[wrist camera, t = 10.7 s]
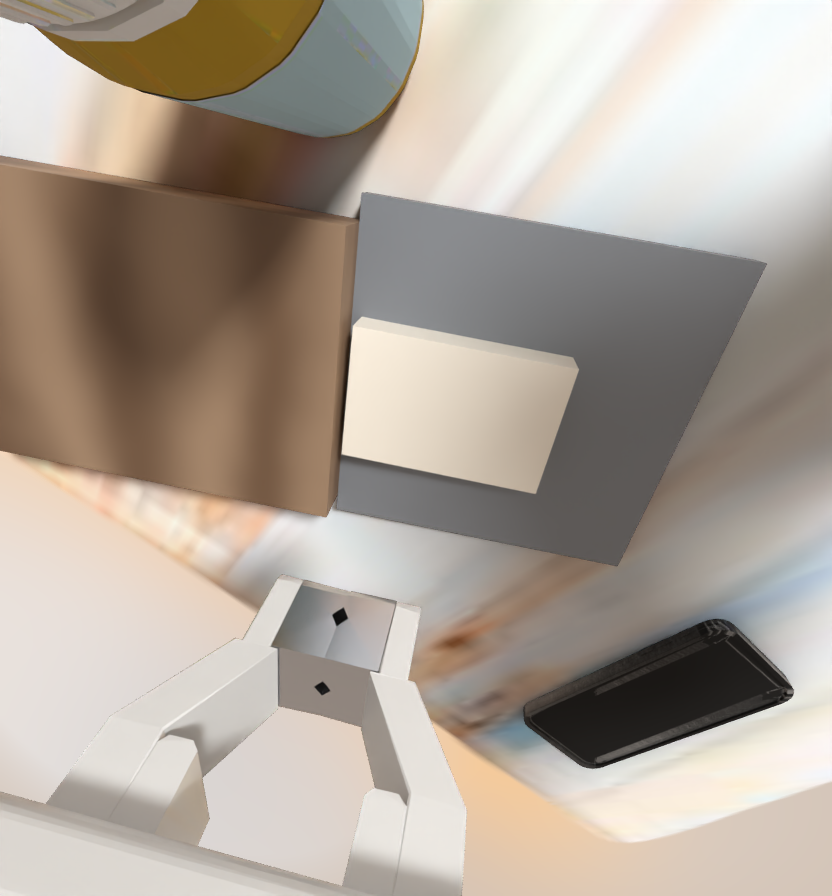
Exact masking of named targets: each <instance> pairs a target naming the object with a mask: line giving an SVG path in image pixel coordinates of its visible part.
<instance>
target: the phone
mask: <svg viewBox="0 0 832 896" xmlns="http://www.w3.org/2000/svg"><path fill="white" fill-rule="evenodd" d="M793 694H794V689H793V688H792V686H791V684H790V683H789V681H788V679H787V678H786V676H785V675H784V674H783V673H782V672H781V671H780V670H779V669H778V668H777V667H776V666H775V665H774V664H773V663H772V662H771V661H770V660H769V659H768V658H767V657H766V656H765V655H764V654H763V653H762V652H761V651H760V650H759V649H758V648H757V647H756V646H755V645H754V644H753V643H752V642H751V641H750V640H749V639H748V638H747V637H746V636H745V635H744V634H743V633H742V632H741V631H740V630H739V629H738V628H737V627H735V626H734V625H733V624H732V623H730V622H729V621H726V620H721V619H713V620H707V621H704V622H702V623H700V624H697V625H695V626H693V627H691V628H689V629H687V630H684V631H682V632H680V633H678V634H676V635H674V636H671V637H669V638H667V639H665V640H663V641H661V642H658V643H656V644H654V645H652V646H650V647H648V648H645V649H643V650H641V651H639V652H637V653H635V654H632V655H630V656H628V657H626V658H624V659H622V660H619V661H617V662H615V663H613V664H611V665H609V666H606V667H604V668H602V669H600V670H598V671H596V672H593V673H591V674H589V675H587V676H585V677H583V678H580V679H578V680H576V681H574V682H572V683H570V684H567V685H565V686H563V687H561V688H559V689H557V690H555V691H552V692H550V693H548V694H546V695H544V696H542V697H539V698H537V699H535V700H533V701H531V702H529V703H527V704H526V705H525V706H524V710H523V711H524V722H525V724H526V725H527V726H528V727H529V728H530V729H532V730H533V731H534V732H536V733H537V734H538V735H540V736H541V737H542V738H544V739H545V740H547V741H548V742H549V743H551V744H552V745H553V746H555V747H556V748H557V749H559V750H560V751H561V752H563V753H564V754H565V755H567V756H568V757H569V758H571V759H572V760H573V761H575V762H576V763H577V764H579V765H581V766H582V767H586V768H592V769H594V768H601V767H604V766H607V765H610V764H613V763H616V762H618V761H621V760H624V759H627V758H630V757H633V756H635V755H638V754H641V753H644V752H647V751H650V750H652V749H655V748H658V747H661V746H664V745H666V744H669V743H672V742H675V741H678V740H681V739H683V738H686V737H689V736H692V735H695V734H698V733H700V732H703V731H706V730H709V729H712V728H714V727H717V726H720V725H723V724H726V723H729V722H731V721H734V720H737V719H740V718H743V717H746V716H748V715H751V714H754V713H757V712H760V711H762V710H765V709H768V708H771V707H774V706H777V705H779V704H782V703H784V702H786V701H788V700H789V699H791V698H792V696H793Z"/></svg>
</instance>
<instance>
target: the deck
mask: <svg viewBox="0 0 832 896" xmlns="http://www.w3.org/2000/svg"><path fill="white" fill-rule="evenodd" d="M359 221H360V219H355V218H350V217H344V216H338V215H333V214H327V213H321V212H316V211H310V210H305V209H299V208H293V207H288V206H282V205H276V204H271V203H265V202H259V201H254V200H248V199H242V198H237V197H231V196H226V195H220V194H214V193H209V192H203V191H197V190H192V189H186V188H180V187H175V186H169V185H163V184H158V183H152V182H147V181H141V180H135V179H130V178H124V177H118V176H113V175H107V174H101V173H96V172H90V171H84V170H79V169H73V168H67V167H62V166H56V165H51V164H45V163H39V162H34V161H28V160H22V159H17V158H11V157H5V156H0V451H5V452H9V453H14V454H19V455H24V456H29V457H34V458H39V459H44V460H49V461H53V462H58V463H63V464H68V465H73V466H78V467H83V468H88V469H93V470H97V471H102V472H107V473H112V474H117V475H122V476H127V477H132V478H137V479H141V480H146V481H151V482H156V483H161V484H166V485H171V486H176V487H181V488H185V489H190V490H195V491H200V492H205V493H210V494H215V495H220V496H225V497H229V498H234V499H239V500H244V501H249V502H254V503H259V504H264V505H268V506H273V507H278V508H283V509H288V510H293V511H298V512H303V513H308V514H312V515H317V516H322V517H327V515H328V513H329V511H330V509H331V507H332V505H333V503H334V501H335V499H336V497H337V495H338V485H339V472H340V460H341V447H342V435H343V422H344V409H345V397H346V384H347V372H348V359H349V347H350V334H351V322H352V309H353V296H354V284H355V271H356V259H357V246H358V234H359Z"/></svg>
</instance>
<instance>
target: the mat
mask: <svg viewBox="0 0 832 896" xmlns="http://www.w3.org/2000/svg"><path fill="white" fill-rule="evenodd" d="M766 265H767V263H763V262H760V261H756V260H752V259H746V258H741V257H735V256H729V255H723V254H718V253H712V252H706V251H701V250H695V249H689V248H683V247H678V246H672V245H666V244H660V243H655V242H649V241H643V240H638V239H632V238H626V237H620V236H615V235H609V234H603V233H597V232H592V231H586V230H580V229H575V228H569V227H563V226H557V225H552V224H546V223H540V222H534V221H529V220H523V219H517V218H512V217H506V216H500V215H494V214H489V213H483V212H477V211H471V210H466V209H460V208H454V207H449V206H443V205H437V204H431V203H426V202H420V201H414V200H408V199H403V198H397V197H391V196H386V195H380V194H374V193H368V192H366V193H362V196H361V208H360V221H359V234H358V246H357V259H356V271H355V284H354V296H353V309H352V322H351V334H350V347H349V359H348V372H347V384H346V397H345V409H346V398H347V387H348V375H349V364H350V353H351V341H352V330H353V325H354V324H355V323H356V322H357V321H358V320H359V319H360V318H361V317H366V318H372V319H377V320H382V321H387V322H392V323H398V324H403V325H408V326H413V327H418V328H423V329H429V330H434V331H439V332H444V333H449V334H454V335H460V336H465V337H470V338H475V339H480V340H486V341H491V342H496V343H501V344H506V345H511V346H517V347H522V348H527V349H532V350H537V351H542V352H548V353H553V354H558V355H563V356H568V357H573V358H574V360H575V362H576V365H577V367H578V369H579V371H578V374H577V377H576V380H575V383H574V386H573V388H572V391H571V394H570V397H569V400H568V403H567V406H566V409H565V411H564V414H563V417H562V420H561V423H560V426H559V429H558V431H557V434H556V437H555V440H554V443H553V446H552V449H551V452H550V454H549V457H548V460H547V463H546V466H545V469H544V472H543V474H542V477H541V480H540V483H539V486H538V489H537V492H536V494H533V493H528V492H523V491H518V490H513V489H509V488H504V487H499V486H494V485H489V484H484V483H479V482H474V481H469V480H465V479H460V478H455V477H450V476H445V475H440V474H435V473H430V472H426V471H421V470H416V469H411V468H406V467H401V466H396V465H391V464H387V463H382V462H377V461H372V460H367V459H362V458H357V457H352V456H347V455H343V454H342V447H341V460H340V472H339V485H338V497H337V509H339V510H344V511H348V512H353V513H358V514H363V515H368V516H373V517H378V518H383V519H388V520H393V521H398V522H402V523H407V524H412V525H417V526H422V527H427V528H432V529H437V530H442V531H447V532H452V533H456V534H461V535H466V536H471V537H476V538H481V539H486V540H491V541H496V542H501V543H506V544H510V545H515V546H520V547H525V548H530V549H535V550H540V551H545V552H550V553H555V554H560V555H564V556H569V557H574V558H579V559H584V560H589V561H594V562H599V563H604V564H609V565H614V566H618V564H619V562H620V560H621V558H622V556H623V554H624V552H625V550H626V548H627V546H628V544H629V542H630V540H631V538H632V536H633V534H634V532H635V530H636V528H637V526H638V524H639V522H640V520H641V518H642V516H643V514H644V512H645V510H646V508H647V506H648V504H649V502H650V500H651V498H652V496H653V493H654V491H655V489H656V487H657V485H658V483H659V481H660V479H661V477H662V475H663V473H664V471H665V469H666V467H667V465H668V463H669V461H670V459H671V457H672V455H673V453H674V451H675V449H676V447H677V445H678V443H679V441H680V439H681V437H682V435H683V433H684V431H685V429H686V427H687V425H688V423H689V421H690V419H691V417H692V415H693V413H694V411H695V408H696V406H697V404H698V402H699V400H700V398H701V396H702V394H703V392H704V390H705V388H706V386H707V384H708V382H709V380H710V378H711V376H712V374H713V372H714V370H715V368H716V366H717V364H718V362H719V360H720V358H721V356H722V354H723V352H724V350H725V348H726V346H727V344H728V342H729V340H730V338H731V336H732V334H733V332H734V330H735V328H736V326H737V323H738V321H739V319H740V317H741V315H742V313H743V311H744V309H745V307H746V305H747V303H748V301H749V299H750V297H751V295H752V293H753V291H754V289H755V287H756V285H757V283H758V281H759V279H760V277H761V275H762V273H763V271H764V269H765V267H766ZM345 409H344V421H345ZM343 432H344V422H343ZM342 443H343V435H342Z"/></svg>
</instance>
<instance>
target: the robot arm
mask: <svg viewBox="0 0 832 896" xmlns="http://www.w3.org/2000/svg"><path fill="white" fill-rule="evenodd" d="M420 614H421V607H418V606H414V605H409V604H405V603H401V602H397V601H394V600H389V599H385V598H380V597H376V596H371V595H367V594H362V593H358V592H353V591H351V592H349V591H346V590H342V589H338V588H334V587H330V586H327V585H323V584H319V583H315V582H311V581H308V580H303V579H299V578H295V577H291V576H287V575H283V574H282V575H281V576H280V577H279V578H278V579H277V580H276V581H275V583H274V585H273V586H272V588H271V590H270V592H269V593H268V595H267V597H266V599H265V600H264V602H263V604H262V606H261V608H260V609H259V611H258V613H257V615H256V616H255V618H254V620H253V622H252V623H251V625H250V627H249V629H248V630H247V632H246V634H245V636H244V637H243V639H237V638H235V639H233V640H231V641H230V642H228V643H226V644H225V645H223V646H222V647H220V648H218V649H217V650H215V651H214V652H212V653H210V654H209V655H207V656H206V657H204V658H202V659H201V660H199V661H198V662H196V663H194V664H193V665H191V666H190V667H188V668H186V669H185V670H183V671H181V672H180V673H178V674H177V675H175V676H173V677H172V678H170V679H169V680H167V681H165V682H164V683H162V684H161V685H159V686H157V687H156V688H154V689H153V690H151V691H150V692H148V693H146V694H145V695H143V696H142V697H140V698H138V699H136V700H135V701H133V702H132V703H130V704H128V705H127V706H125V707H124V708H122V709H121V710H119V711H117V712H116V713H114V714H112V715H111V716H110V717H109V718H108V720H107V721H106V723H105V724H104V725H103V727H102V728H101V729H100V731H99V732H98V733H97V735H96V736H95V737H94V739H93V740H92V741H91V743H90V744H89V746H88V747H87V748H86V750H85V751H84V753H83V754H82V755H81V757H80V758H79V759H78V760H77V762H76V763H75V765H74V766H73V767H72V769H71V770H70V772H69V773H68V774H67V775H66V777H65V778H64V780H63V781H62V782H61V784H60V785H59V786H58V788H57V789H56V790H55V792H54V793H53V795H52V796H51V797H50V799H49V800H48V801H47V803H46V804H43V803H40V802H36V801H32V800H29V799H25V798H22V797H18V796H14V795H11V794H7V793H4V792H0V896H462V884H463V868H464V851H465V833H466V818H467V809H466V807H465V804H464V802H463V799H462V797H461V794H460V792H459V789H458V787H457V784H456V782H455V779H454V777H453V775H452V772H451V770H450V767H449V765H448V762H447V760H446V757H445V755H444V752H443V750H442V747H441V745H440V743H439V740H438V738H437V735H436V732H435V730H434V728H433V725H432V723H431V720H430V718H429V715H428V713H427V710H426V708H425V705H424V703H423V700H422V698H421V695H420V693H419V690H418V688H417V686H416V683H415V682H412V681H409V680H408V677H409V672H410V666H411V661H412V656H413V651H414V646H415V640H416V635H417V630H418V625H419V620H420ZM278 706H280V707H285V708H290V709H294V710H299V711H303V712H307V713H312V714H316V715H321V716H324V717H328V718H331V719H335V720H338V721H342V722H345V723H349V724H353V725H356V726H359V727H361V731H362V735H363V739H364V743H365V747H366V752H367V756H368V760H369V764H370V768H371V772H372V777H373V781H374V785H375V788H373V789H371V790H370V791H369V792H368V793H366V794H365V795H364V798H363V802H362V807H361V811H360V815H359V819H358V823H357V827H356V831H355V835H354V839H353V844H352V848H351V852H350V856H349V860H348V864H347V868H346V873H345V877H344V881H343V885H342V886H340V885H336V884H332V883H329V882H325V881H322V880H318V879H314V878H311V877H307V876H303V875H300V874H296V873H293V872H289V871H286V870H282V869H278V868H275V867H271V866H268V865H264V864H260V863H257V862H253V861H249V860H245V859H242V858H239V857H235V856H231V855H228V854H224V853H221V852H217V851H213V850H210V849H206V848H202V847H199V846H198V844H199V841H200V839H201V837H202V835H203V832H204V830H205V828H206V825H207V823H208V821H209V819H210V818H209V813H208V807H207V801H206V796H205V790H204V785H203V779H202V778H203V777H204V775H206V774H207V773H208V772H209V771H210V770H211V769H212V768H214V767H215V766H216V765H217V764H218V763H219V762H220V761H221V760H222V759H224V758H225V757H226V756H227V755H228V754H229V753H230V752H231V751H232V750H233V749H235V748H236V747H237V746H238V745H239V744H240V743H241V742H242V741H243V740H245V739H246V738H247V737H248V736H249V735H250V734H251V733H252V732H253V731H254V730H256V729H257V728H258V727H259V726H260V725H261V724H262V723H263V722H264V721H266V720H267V719H268V718H269V717H270V716H271V715H272V714H273V713H274V712H275V711H276V710H278Z"/></svg>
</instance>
